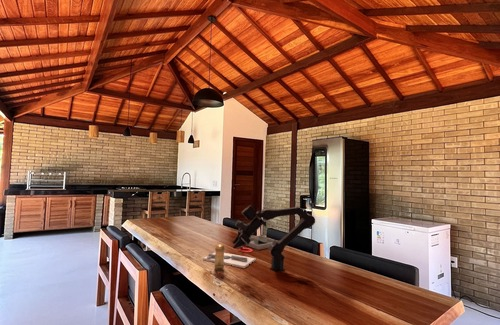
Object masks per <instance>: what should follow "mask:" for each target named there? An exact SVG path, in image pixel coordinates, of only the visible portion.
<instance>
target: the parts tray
mask: <svg viewBox="0 0 500 325" xmlns="http://www.w3.org/2000/svg"><path fill="white" fill-rule="evenodd" d="M254 237H259V238H260V240H261V238H262V239H267V242H265V241H260V240H258V244H254V239H251V238H253V236H251V238H250V239H251V242H250V243H249V244H247V245H245V246H247V247H248V248H249V247H250V248H251V249H255V250H258V251H260V250H263V249H264V250H265V249H269V246H270V244H271V243H269V242H272V243H273V242H274V240H276V239H273V238H270V237H266V236H263V235H256V236H254ZM276 241H278V240H276Z"/></svg>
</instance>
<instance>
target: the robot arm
mask: <svg viewBox="0 0 500 325" xmlns="http://www.w3.org/2000/svg"><path fill="white" fill-rule="evenodd" d="M241 214H242V215H243V217H245V219H246V220H247V221H250V222H248V223H244V222H243V221H241V220H236V222H235V224H234V226H235V227H236V228H238V230H237V235H236V237H235V239H234V240H233V241H232V244H233V247H232V248H233V249H237V248H239V247H240V246H243V247H244V246H246V245H247V244H249V243H250V242H251V239H250V238H251V237H252V235H253V234H256V233H257V231H258V230H259V229H260V228H261V227H262V226H264V227H267V221H270V220H272V219H276V218H278V217H285V216H292V215H293V216H294V215H297V216H298V217H300V219H299V221H298V223H297V224H296V225H295V226H294V227H293V228H292V229H291V230H290V231H289V232H287V233H286V234H285V235H284V236H283V237H282V238H281V239H279V240H277V241H276V239H274V242H273V243H271V244H270V246H269V248H268V251H269V254H270V256H271V265H270V266H271V267H269V269H270V270H272V271H274V270H275V271H274V272H277V271H279V272H282V270H283V271H285V270H286V268H284V262H285V256H284V255H283V252H284V249H285V248H286V246H288V245H289V244H290V243H291V242H292V241H293V240H294V239H296V237H297V236H298V235H300V234H301V233H302V232H303V231H304V230H306V229H309V228H310V227H313V226H314V225H315V223H316V218H315V216H314V215H312V214H308V213H307V212H305V211H304V210H303V209H302V208H301V207H299V206H295V207H288V208H287V207H285V208H279V209H278V208H277V209H274V208H263V209H261V210H258V211H256V210H255V209H254V207H253V206H252V205H251V204H249V205H248V206H247V207H246V208H244V209H243V210H242V211H241Z"/></svg>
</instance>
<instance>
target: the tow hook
mask: <svg viewBox="0 0 500 325" xmlns="http://www.w3.org/2000/svg"><path fill="white" fill-rule="evenodd" d="M238 248H239V249H237V251H238V252H241V253H245V254H247V253H248V254H249V253H252V252H253V248H251V247H250V248H249V247H248V248H247V247H244V245H243V246H240V247H238Z"/></svg>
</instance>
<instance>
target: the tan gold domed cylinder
mask: <svg viewBox="0 0 500 325" xmlns="http://www.w3.org/2000/svg"><path fill="white" fill-rule="evenodd" d="M214 247H215V249H214V250H215V252H216V253H215V252H214V253H215V262H214V270H215V271H217V272H218V271H219V272H221V271H224V268H225V264H224V253H225V249H226V247H225V244H216V245H215V246H214Z"/></svg>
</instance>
